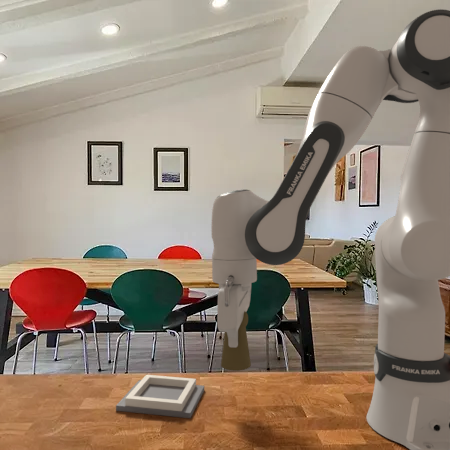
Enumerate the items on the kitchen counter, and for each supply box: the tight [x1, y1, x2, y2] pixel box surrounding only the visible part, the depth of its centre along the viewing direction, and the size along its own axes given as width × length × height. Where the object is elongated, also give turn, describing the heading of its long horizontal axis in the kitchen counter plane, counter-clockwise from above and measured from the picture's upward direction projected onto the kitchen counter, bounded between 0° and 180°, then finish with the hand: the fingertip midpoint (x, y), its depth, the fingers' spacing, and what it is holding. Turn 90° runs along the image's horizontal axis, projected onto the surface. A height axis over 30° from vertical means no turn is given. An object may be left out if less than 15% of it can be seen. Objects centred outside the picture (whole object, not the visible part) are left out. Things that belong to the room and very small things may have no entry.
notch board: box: [115, 374, 205, 419], centre depth 83 cm, size 15×12×2 cm
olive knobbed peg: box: [220, 311, 252, 372], centre depth 80 cm, size 6×6×11 cm
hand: (235, 341), depth 80 cm, fingers closed on olive knobbed peg, 4 cm apart
